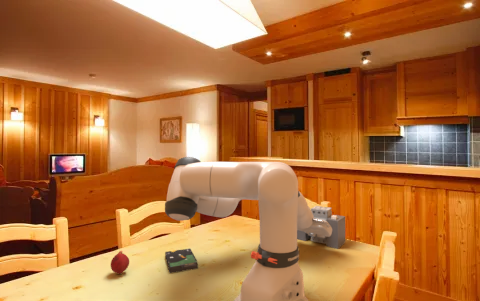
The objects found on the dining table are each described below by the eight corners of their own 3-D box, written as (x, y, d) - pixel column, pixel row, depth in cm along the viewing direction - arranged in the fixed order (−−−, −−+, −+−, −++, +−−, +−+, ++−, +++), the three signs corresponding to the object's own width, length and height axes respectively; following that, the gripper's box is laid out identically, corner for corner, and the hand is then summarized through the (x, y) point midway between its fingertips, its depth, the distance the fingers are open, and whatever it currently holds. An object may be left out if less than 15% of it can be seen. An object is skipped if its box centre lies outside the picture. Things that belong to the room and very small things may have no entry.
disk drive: (164, 258, 104) (169, 274, 90) (164, 251, 104) (169, 266, 90) (190, 254, 107) (198, 269, 94) (190, 248, 107) (198, 261, 94)
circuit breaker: (306, 244, 116) (306, 211, 116) (316, 236, 128) (316, 205, 128) (323, 248, 112) (323, 213, 112) (331, 239, 124) (331, 207, 124)
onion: (117, 279, 86) (117, 255, 86) (107, 275, 88) (106, 252, 88) (132, 272, 91) (132, 249, 91) (122, 268, 94) (121, 246, 93)
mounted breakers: (337, 248, 111) (337, 218, 111) (295, 238, 124) (295, 211, 124) (345, 242, 119) (345, 213, 119) (304, 233, 132) (304, 207, 132)
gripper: (329, 214, 103) (337, 233, 111) (283, 207, 116) (294, 224, 123) (325, 228, 99) (333, 246, 107) (278, 219, 112) (289, 236, 120)
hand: (312, 234), depth 115 cm, fingers closed
